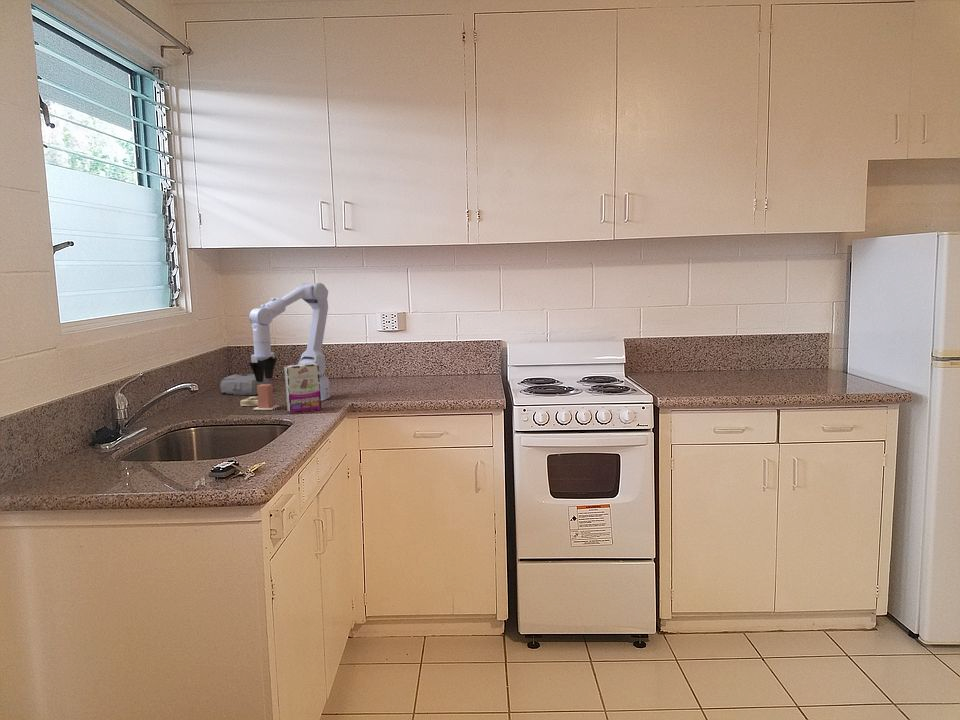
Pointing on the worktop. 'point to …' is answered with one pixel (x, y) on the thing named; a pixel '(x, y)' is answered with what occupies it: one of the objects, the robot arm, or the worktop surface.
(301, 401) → the candy bar box
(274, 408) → the mat
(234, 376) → the grey rounded bag
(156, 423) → the worktop surface
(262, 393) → the peg
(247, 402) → the pocket holder
